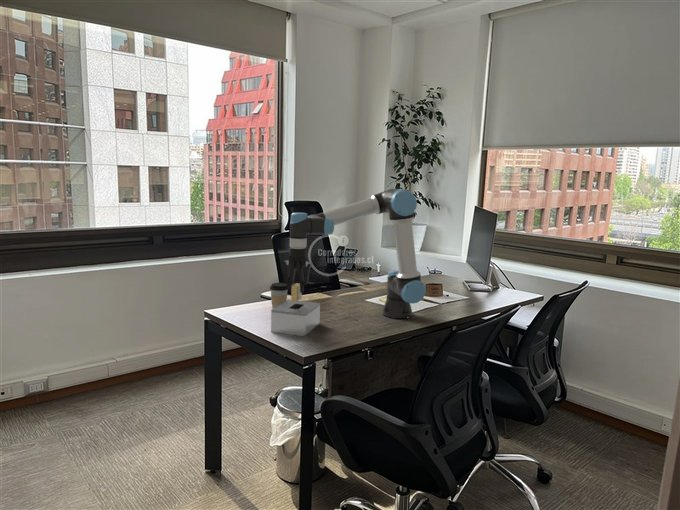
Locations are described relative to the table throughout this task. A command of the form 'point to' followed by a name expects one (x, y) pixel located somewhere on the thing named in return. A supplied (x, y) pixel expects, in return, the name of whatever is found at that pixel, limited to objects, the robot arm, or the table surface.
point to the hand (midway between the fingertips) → (296, 298)
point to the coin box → (295, 317)
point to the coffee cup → (278, 293)
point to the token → (295, 292)
